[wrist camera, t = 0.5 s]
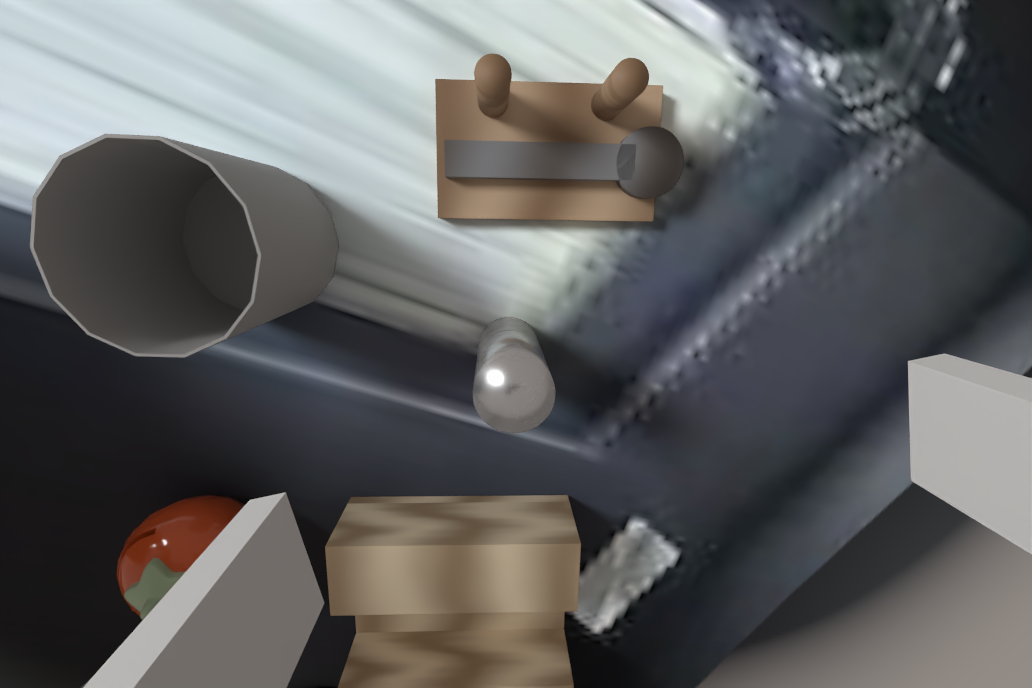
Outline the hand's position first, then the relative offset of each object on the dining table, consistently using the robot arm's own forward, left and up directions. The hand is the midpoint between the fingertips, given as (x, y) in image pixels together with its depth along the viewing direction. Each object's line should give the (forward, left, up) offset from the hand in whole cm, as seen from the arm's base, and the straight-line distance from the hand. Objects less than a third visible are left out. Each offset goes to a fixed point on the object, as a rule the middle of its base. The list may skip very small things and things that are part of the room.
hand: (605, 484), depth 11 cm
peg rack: (0, +9, -20) cm, 22 cm away
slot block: (-5, -19, -20) cm, 28 cm away
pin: (-2, -2, -20) cm, 21 cm away
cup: (-16, +4, -21) cm, 26 cm away
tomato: (-19, -14, -21) cm, 32 cm away
